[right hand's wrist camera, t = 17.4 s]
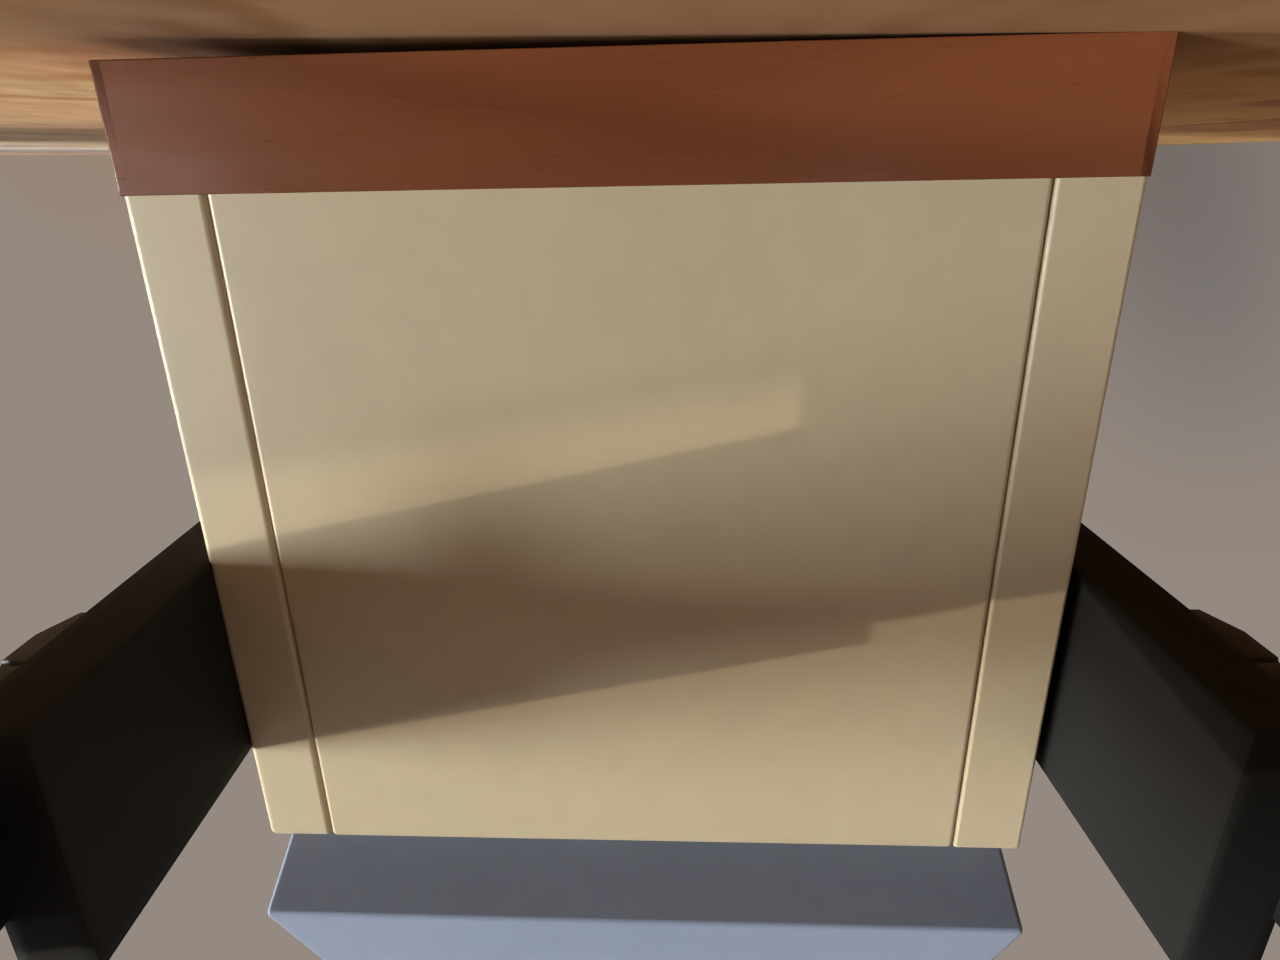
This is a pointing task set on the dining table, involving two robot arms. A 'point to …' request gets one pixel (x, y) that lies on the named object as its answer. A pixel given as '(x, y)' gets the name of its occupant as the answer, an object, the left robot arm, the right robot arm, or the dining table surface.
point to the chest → (643, 417)
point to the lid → (640, 900)
